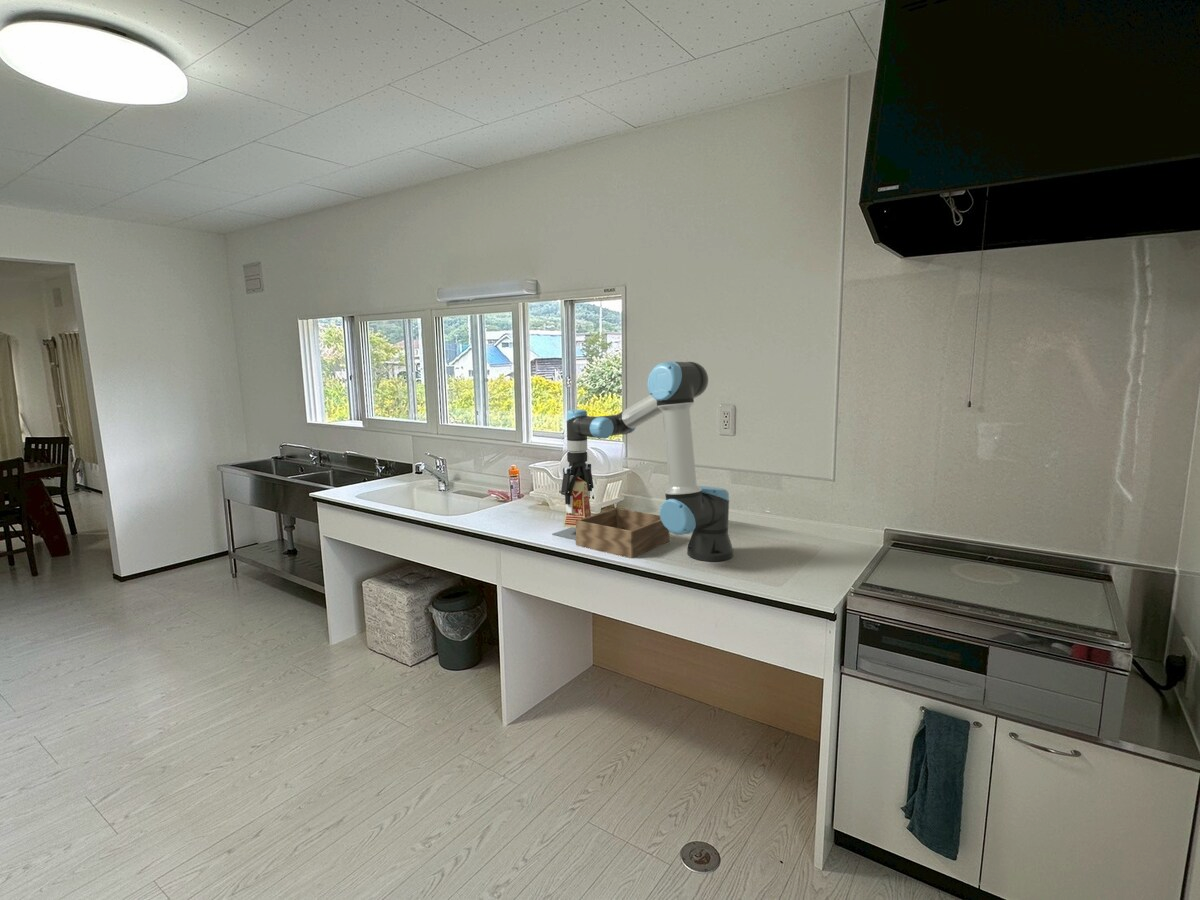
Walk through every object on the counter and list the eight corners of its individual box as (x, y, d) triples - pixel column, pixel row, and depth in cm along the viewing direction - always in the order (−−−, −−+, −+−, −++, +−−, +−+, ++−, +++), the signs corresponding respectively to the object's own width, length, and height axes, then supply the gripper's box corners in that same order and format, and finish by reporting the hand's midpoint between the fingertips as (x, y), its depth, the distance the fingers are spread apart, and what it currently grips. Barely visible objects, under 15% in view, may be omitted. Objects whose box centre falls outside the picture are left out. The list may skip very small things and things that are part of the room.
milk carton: (586, 528, 226) (586, 475, 224) (562, 527, 228) (562, 474, 226) (592, 522, 235) (592, 470, 232) (569, 520, 237) (568, 470, 234)
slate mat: (604, 532, 233) (604, 531, 233) (580, 541, 223) (580, 540, 223) (576, 526, 242) (576, 525, 242) (552, 534, 231) (552, 533, 231)
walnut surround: (669, 541, 222) (669, 517, 220) (631, 558, 203) (631, 531, 202) (616, 530, 236) (616, 507, 235) (575, 545, 217) (575, 520, 216)
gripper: (587, 447, 239) (588, 503, 242) (549, 453, 222) (551, 514, 225) (603, 448, 234) (603, 506, 237) (565, 455, 217) (566, 517, 220)
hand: (577, 510), depth 231 cm, fingers closed on milk carton, 9 cm apart
